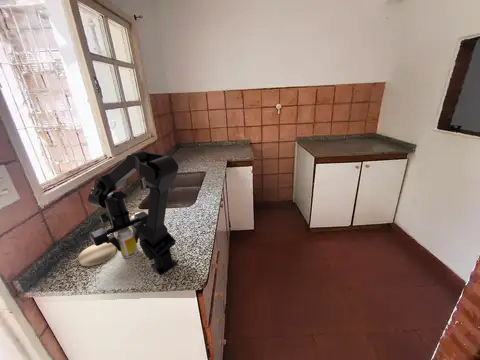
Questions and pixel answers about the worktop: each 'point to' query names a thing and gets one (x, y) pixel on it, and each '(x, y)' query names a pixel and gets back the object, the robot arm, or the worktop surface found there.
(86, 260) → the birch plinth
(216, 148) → the worktop surface
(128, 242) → the supplement bottle
